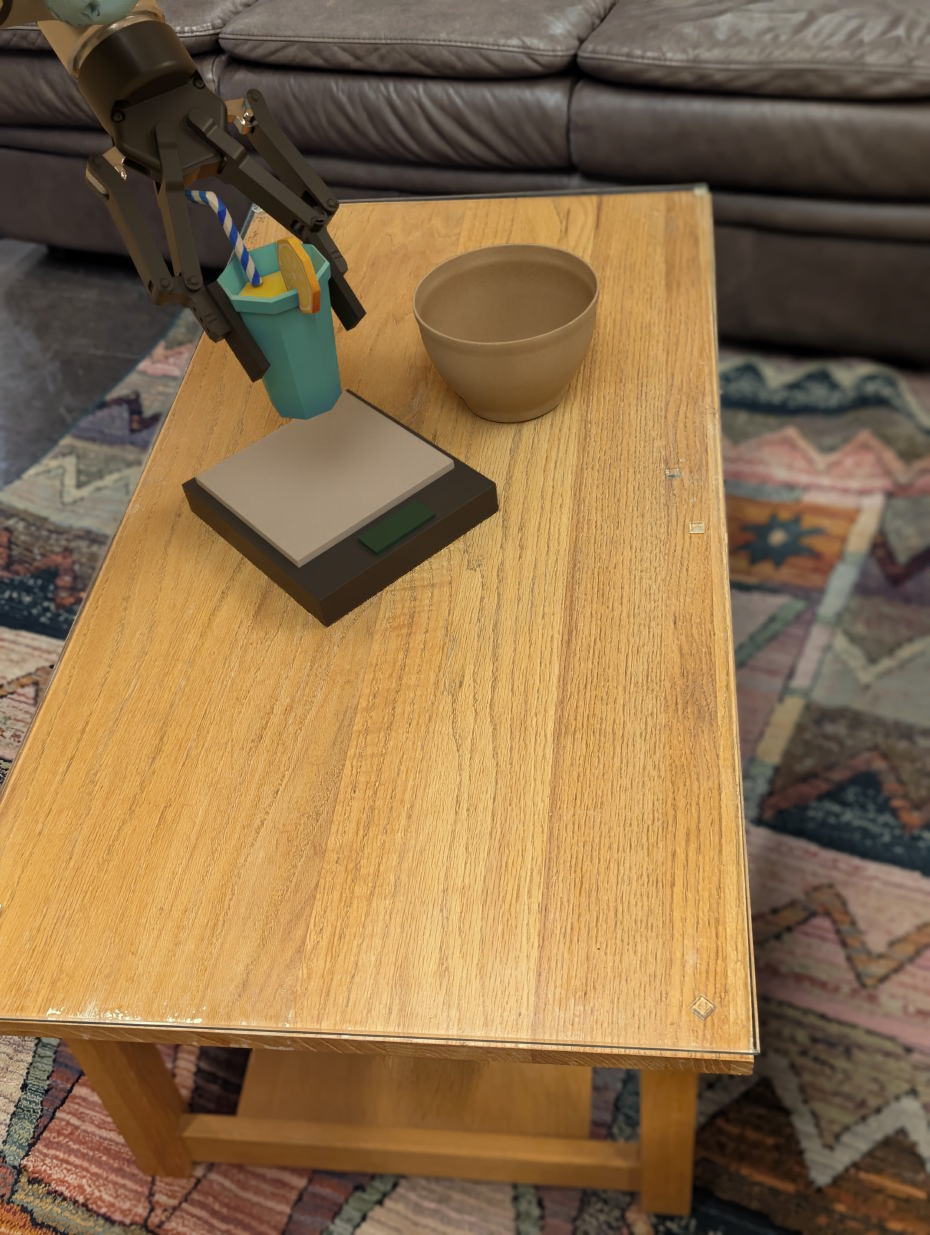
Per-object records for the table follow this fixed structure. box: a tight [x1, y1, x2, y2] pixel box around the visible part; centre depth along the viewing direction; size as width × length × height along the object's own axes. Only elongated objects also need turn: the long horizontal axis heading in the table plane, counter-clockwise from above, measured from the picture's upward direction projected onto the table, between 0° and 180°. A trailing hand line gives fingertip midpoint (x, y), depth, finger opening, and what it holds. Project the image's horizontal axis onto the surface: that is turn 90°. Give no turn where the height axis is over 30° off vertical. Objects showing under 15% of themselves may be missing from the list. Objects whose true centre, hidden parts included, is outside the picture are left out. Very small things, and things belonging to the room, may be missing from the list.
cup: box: [184, 189, 343, 420], centre depth 76 cm, size 14×8×15 cm, turn 50°
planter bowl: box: [411, 242, 600, 423], centre depth 96 cm, size 16×16×11 cm
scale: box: [181, 388, 500, 628], centre depth 90 cm, size 18×20×4 cm
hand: (310, 347), depth 75 cm, fingers closed on cup, 7 cm apart
